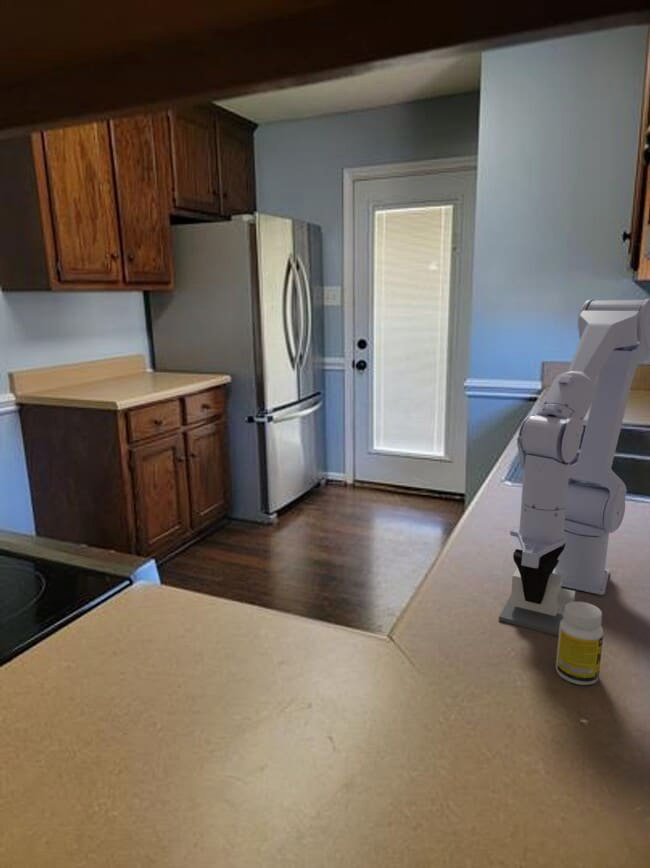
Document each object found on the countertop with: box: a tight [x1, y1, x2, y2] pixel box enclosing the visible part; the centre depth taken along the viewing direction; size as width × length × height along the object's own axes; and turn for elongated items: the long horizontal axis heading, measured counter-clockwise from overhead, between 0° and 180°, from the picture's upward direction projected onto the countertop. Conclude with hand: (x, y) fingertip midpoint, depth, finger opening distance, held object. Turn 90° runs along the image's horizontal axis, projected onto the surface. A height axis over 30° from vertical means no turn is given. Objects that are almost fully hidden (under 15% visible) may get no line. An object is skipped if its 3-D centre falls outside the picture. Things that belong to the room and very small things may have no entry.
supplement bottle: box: [555, 601, 604, 686], centre depth 68 cm, size 5×5×8 cm
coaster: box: [498, 595, 565, 637], centre depth 82 cm, size 8×8×1 cm
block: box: [510, 566, 576, 616], centre depth 81 cm, size 4×8×4 cm, turn 60°
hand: (536, 595), depth 82 cm, fingers closed on block, 3 cm apart
